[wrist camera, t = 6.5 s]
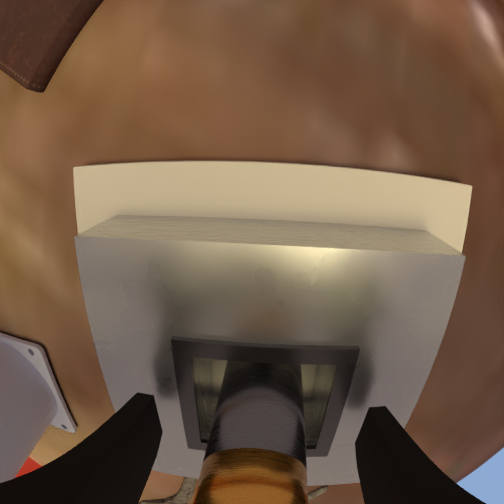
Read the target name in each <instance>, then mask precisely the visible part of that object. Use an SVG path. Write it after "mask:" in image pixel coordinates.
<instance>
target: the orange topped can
mask: <svg viewBox="0 0 504 504" xmlns="http://www.w3.org/2000/svg"><path fill="white" fill-rule="evenodd" d="M193 504H308V491H307V461H306V438H305V419H304V402H303V386H302V371H301V364H276V363H257V362H242V361H229V360H227V364H226V368H225V373H224V377H223V381H222V385H221V389H220V393H219V398H218V402H217V406H216V410H215V414H214V418H213V422H212V427H211V431H210V435H209V439H208V443H207V447H206V451H205V456H204V460H203V464H202V468H201V472H200V476H199V480H198V485H197V489H196V493H195V497H194V501H193Z"/></svg>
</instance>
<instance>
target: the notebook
mask: <svg viewBox="0 0 504 504" xmlns="http://www.w3.org/2000/svg"><path fill="white" fill-rule="evenodd" d="M102 1H103V0H0V69H1V70H2V71H3V72H5V73H6V74H7V75H9V76H10V77H11V78H13V79H14V80H15V81H17V82H18V83H19V84H21V85H22V86H23V87H25V88H26V89H29V90H32V91H36V92H44V90H45V88H46V86H47V84H48V83H49V81H50V79H51V77H52V75H53V74H54V72H55V70H56V68H57V67H58V65H59V63H60V62H61V60H62V58H63V57H64V55H65V53H66V52H67V50H68V49H69V47H70V46H71V44H72V42H73V41H74V39H75V38H76V36H77V35H78V33H79V32H80V31H81V29H82V28H83V26H84V25H85V23H86V22H87V21H88V19H89V18H90V17H91V15H92V14H93V13H94V11H95V10H96V9H97V7H98V6H99V5H100V3H101V2H102Z"/></svg>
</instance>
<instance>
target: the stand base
mask: <svg viewBox="0 0 504 504" xmlns="http://www.w3.org/2000/svg"><path fill="white" fill-rule="evenodd" d="M73 171H74V192H75V206H76V217H77V227H78V234H80V233H82V232H84V231H85V230H87V229H89V228H91V227H93V226H95V225H97V224H99V223H101V222H103V221H105V220H108V219H110V218H112V217H114V216H116V215H134V216H182V217H214V218H241V219H264V220H284V221H302V222H320V223H336V224H351V225H365V226H378V227H391V228H404V229H416V230H426V231H428V232H430V233H431V234H433V235H434V236H436V237H438V238H439V239H441V240H442V241H444V242H445V243H447V244H449V245H450V246H452V247H453V248H455V249H456V250H458V251H459V252H461V253H462V248H463V243H464V238H465V232H466V227H467V221H468V214H469V207H470V200H471V192H472V186H470V185H467V184H463V183H459V182H453V181H447V180H442V179H435V178H429V177H423V176H416V175H409V174H402V173H394V172H386V171H378V170H370V169H360V168H350V167H340V166H328V165H316V164H301V163H284V162H262V161H224V160H184V161H146V162H125V163H108V164H95V165H84V166H78V167H73ZM211 361H212V379H213V392H217V393H220V389H221V385H222V381H223V377H224V373H225V368H226V364H227V360H217V359H211ZM316 366H317V365H307V364H301V371H302V386H303V397H311V392H312V387H313V382H314V377H315V372H316Z"/></svg>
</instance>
